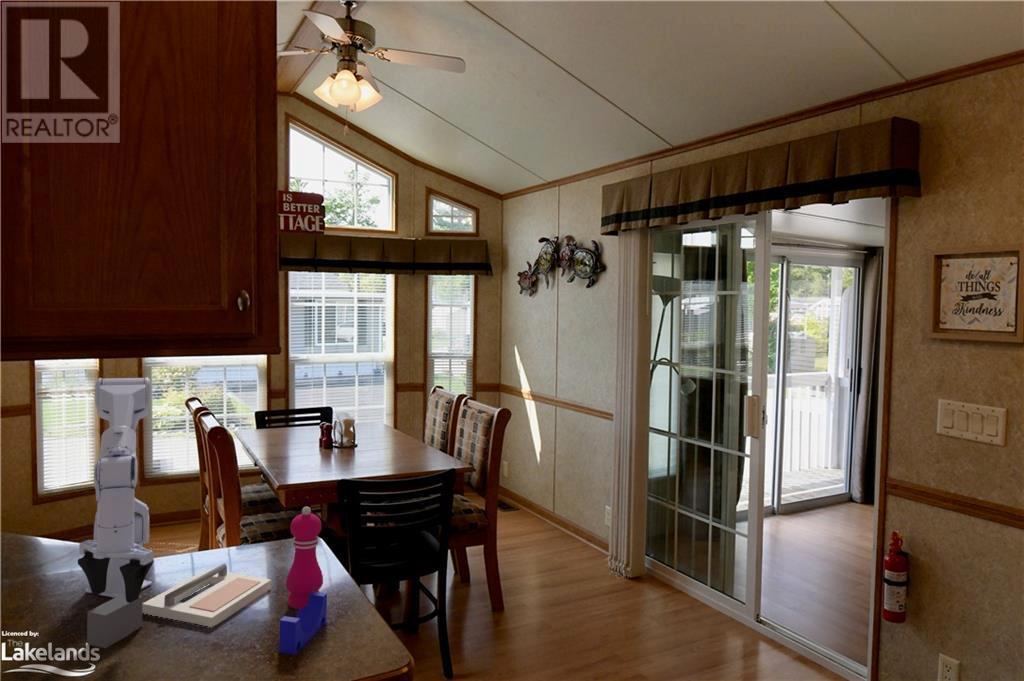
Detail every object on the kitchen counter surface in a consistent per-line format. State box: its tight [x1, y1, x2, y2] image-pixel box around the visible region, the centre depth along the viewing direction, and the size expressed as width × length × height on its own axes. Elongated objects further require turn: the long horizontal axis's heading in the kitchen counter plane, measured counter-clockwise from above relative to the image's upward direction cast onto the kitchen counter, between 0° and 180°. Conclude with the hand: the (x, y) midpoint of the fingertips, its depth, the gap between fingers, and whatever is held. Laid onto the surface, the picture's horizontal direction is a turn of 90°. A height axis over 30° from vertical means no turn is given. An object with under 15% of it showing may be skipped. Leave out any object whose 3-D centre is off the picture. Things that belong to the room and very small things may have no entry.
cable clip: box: [278, 591, 328, 655], centre depth 124 cm, size 12×4×6 cm, turn 169°
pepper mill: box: [285, 506, 324, 610], centre depth 136 cm, size 7×7×20 cm
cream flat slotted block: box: [142, 563, 272, 629], centre depth 136 cm, size 16×18×4 cm
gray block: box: [86, 593, 143, 649], centre depth 121 cm, size 4×8×6 cm, turn 164°
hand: (115, 596), depth 121 cm, fingers open, 7 cm apart
